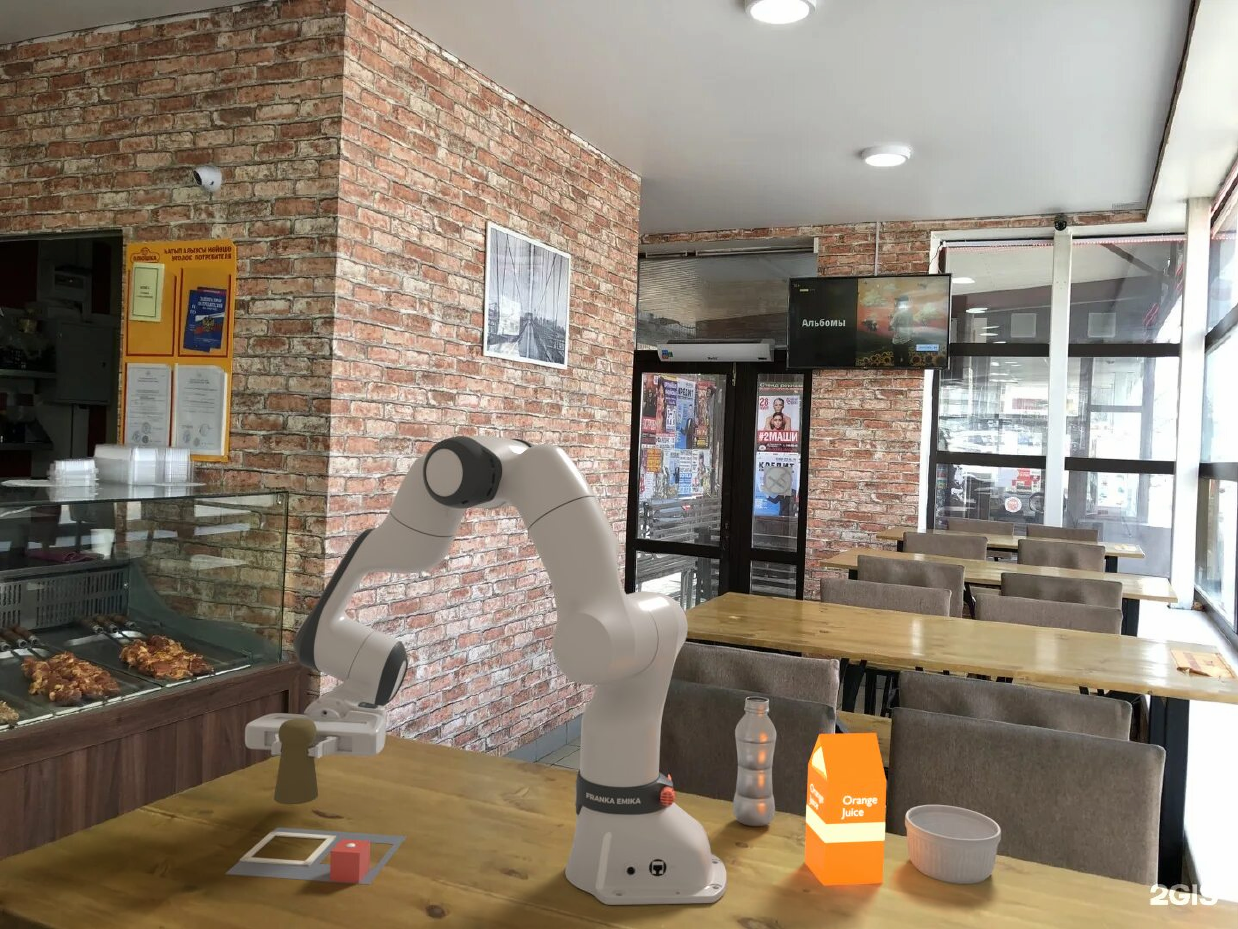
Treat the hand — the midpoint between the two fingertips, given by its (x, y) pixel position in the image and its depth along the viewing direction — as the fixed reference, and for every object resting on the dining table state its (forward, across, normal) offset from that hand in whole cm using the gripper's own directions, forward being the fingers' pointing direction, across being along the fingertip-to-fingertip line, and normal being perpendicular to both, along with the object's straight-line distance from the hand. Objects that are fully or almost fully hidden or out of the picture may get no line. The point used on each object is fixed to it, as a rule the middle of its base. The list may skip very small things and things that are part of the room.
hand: (294, 751), depth 139 cm
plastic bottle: (-24, +66, +15) cm, 72 cm away
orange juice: (-8, +78, +15) cm, 80 cm away
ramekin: (-12, +94, +15) cm, 96 cm away
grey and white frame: (0, +4, +15) cm, 16 cm away
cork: (-1, 0, +7) cm, 7 cm away
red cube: (+6, +11, +14) cm, 19 cm away
